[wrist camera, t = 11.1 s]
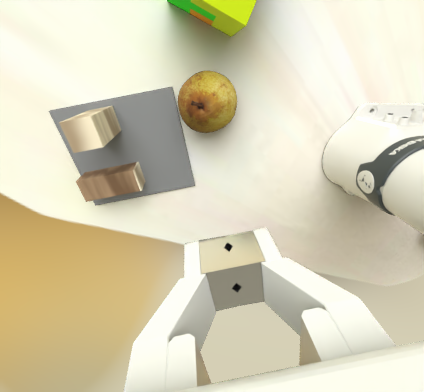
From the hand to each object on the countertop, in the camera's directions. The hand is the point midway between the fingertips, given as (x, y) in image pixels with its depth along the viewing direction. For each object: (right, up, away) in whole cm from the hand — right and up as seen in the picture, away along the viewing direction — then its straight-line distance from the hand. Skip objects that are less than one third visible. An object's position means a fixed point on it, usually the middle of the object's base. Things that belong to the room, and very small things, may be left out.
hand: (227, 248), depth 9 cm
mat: (-15, +10, +33) cm, 38 cm away
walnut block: (-14, +6, +33) cm, 36 cm away
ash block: (-18, +14, +30) cm, 38 cm away
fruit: (-2, +18, +30) cm, 35 cm away
